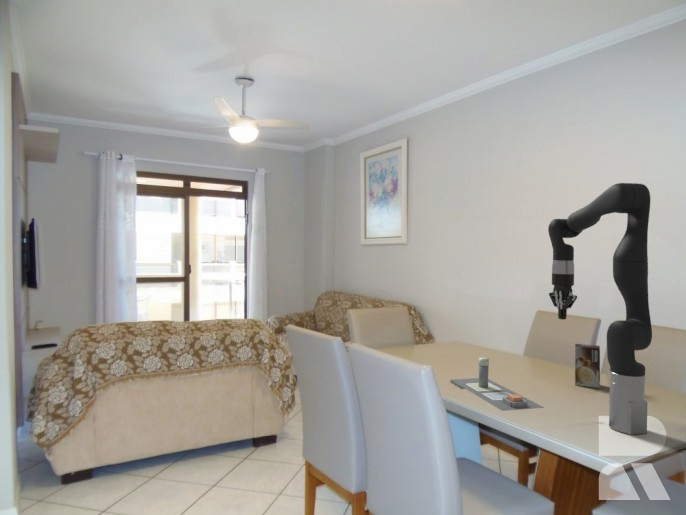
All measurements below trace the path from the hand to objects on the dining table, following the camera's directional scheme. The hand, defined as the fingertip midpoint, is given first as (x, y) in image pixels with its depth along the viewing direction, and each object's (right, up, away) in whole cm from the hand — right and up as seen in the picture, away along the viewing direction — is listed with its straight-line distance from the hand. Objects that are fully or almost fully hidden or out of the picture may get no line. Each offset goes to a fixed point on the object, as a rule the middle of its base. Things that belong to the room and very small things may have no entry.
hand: (562, 319), depth 176 cm
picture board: (-25, -29, +2) cm, 38 cm away
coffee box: (+18, -29, +16) cm, 38 cm away
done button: (-22, -28, -12) cm, 37 cm away
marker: (-27, -28, +9) cm, 39 cm away
